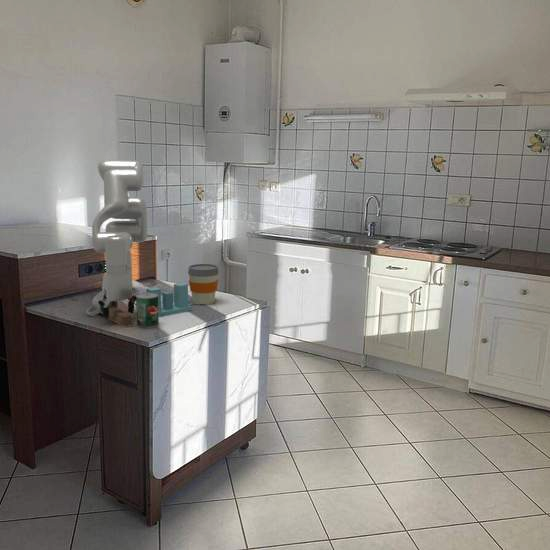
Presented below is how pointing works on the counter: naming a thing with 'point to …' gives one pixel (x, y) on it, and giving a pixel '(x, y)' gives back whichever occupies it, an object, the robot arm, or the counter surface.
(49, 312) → the counter surface
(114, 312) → the walnut bar
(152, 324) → the canned tomato
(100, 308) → the ceramic mug
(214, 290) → the reusable coffee cup
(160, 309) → the display stand
